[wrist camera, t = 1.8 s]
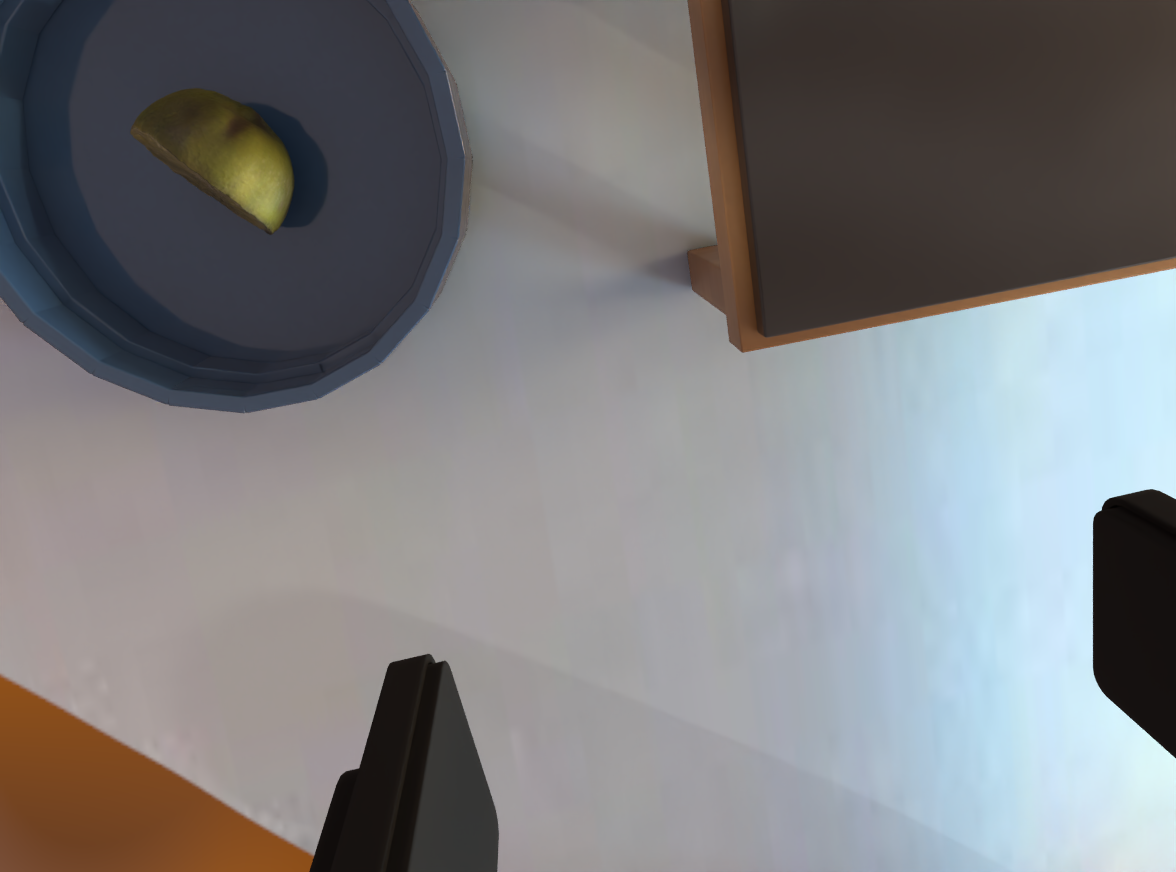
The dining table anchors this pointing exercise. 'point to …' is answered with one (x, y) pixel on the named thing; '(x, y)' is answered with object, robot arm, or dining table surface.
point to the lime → (221, 152)
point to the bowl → (201, 223)
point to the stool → (928, 156)
